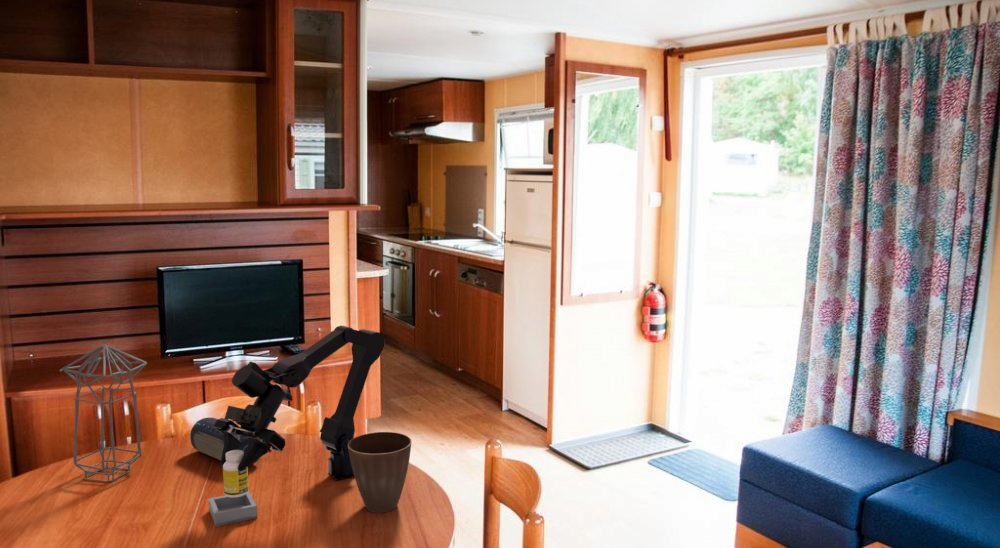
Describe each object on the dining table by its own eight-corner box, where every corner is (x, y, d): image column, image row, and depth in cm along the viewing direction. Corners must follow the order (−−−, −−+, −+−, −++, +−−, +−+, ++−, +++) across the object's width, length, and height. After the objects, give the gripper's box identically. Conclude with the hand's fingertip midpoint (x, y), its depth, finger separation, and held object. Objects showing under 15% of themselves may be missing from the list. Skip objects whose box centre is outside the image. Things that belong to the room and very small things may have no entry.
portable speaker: (184, 453, 220) (183, 419, 218) (216, 443, 228) (215, 410, 226) (236, 475, 204) (234, 439, 203) (268, 464, 212) (266, 429, 211)
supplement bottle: (241, 499, 176) (239, 457, 175) (219, 497, 177) (217, 456, 176) (253, 489, 182) (251, 449, 180) (232, 487, 183) (229, 447, 181)
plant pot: (360, 525, 176) (358, 458, 174) (341, 500, 189) (340, 437, 187) (421, 512, 183) (420, 447, 181) (399, 489, 196) (398, 428, 194)
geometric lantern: (106, 461, 213) (101, 336, 209) (154, 469, 209) (151, 342, 205) (59, 483, 198) (53, 349, 194) (110, 491, 194) (106, 355, 190)
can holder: (249, 502, 188) (249, 491, 187) (257, 518, 180) (256, 505, 179) (209, 510, 183) (208, 498, 183) (215, 526, 175) (214, 514, 175)
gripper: (217, 385, 184) (180, 444, 176) (273, 397, 175) (237, 460, 167) (245, 408, 192) (211, 465, 184) (300, 420, 183) (267, 481, 175)
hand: (230, 467), depth 178 cm, fingers closed on supplement bottle, 5 cm apart
